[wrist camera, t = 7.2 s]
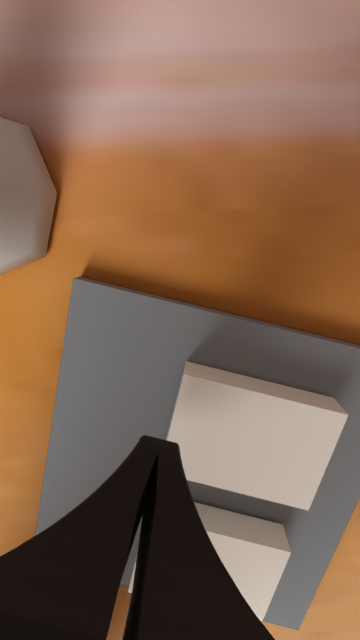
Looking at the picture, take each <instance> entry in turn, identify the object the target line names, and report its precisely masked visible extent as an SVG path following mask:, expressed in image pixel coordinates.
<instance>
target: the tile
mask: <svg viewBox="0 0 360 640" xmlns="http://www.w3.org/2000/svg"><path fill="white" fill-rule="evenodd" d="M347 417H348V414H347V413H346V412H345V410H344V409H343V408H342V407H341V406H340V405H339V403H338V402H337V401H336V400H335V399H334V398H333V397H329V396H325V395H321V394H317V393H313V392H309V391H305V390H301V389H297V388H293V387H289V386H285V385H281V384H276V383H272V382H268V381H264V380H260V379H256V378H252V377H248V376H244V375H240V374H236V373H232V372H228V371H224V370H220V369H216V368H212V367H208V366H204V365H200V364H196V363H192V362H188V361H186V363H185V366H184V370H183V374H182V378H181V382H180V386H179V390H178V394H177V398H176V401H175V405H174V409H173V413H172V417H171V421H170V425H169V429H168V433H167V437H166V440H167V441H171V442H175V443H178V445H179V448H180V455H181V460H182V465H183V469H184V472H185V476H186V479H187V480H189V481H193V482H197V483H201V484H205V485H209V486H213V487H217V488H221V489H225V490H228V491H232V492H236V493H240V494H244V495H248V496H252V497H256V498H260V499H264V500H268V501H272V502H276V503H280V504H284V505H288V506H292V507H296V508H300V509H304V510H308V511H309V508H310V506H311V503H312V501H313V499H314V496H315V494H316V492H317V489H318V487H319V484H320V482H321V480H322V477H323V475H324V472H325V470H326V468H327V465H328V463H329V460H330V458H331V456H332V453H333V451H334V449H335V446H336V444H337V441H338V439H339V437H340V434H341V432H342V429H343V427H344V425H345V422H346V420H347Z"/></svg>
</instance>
